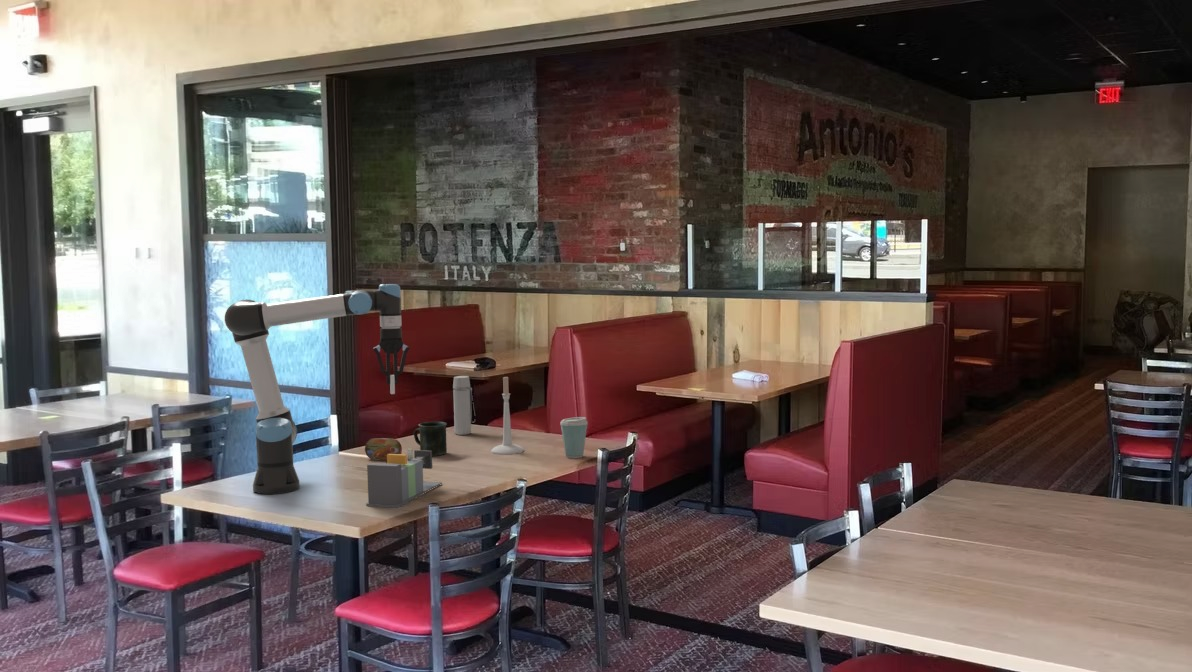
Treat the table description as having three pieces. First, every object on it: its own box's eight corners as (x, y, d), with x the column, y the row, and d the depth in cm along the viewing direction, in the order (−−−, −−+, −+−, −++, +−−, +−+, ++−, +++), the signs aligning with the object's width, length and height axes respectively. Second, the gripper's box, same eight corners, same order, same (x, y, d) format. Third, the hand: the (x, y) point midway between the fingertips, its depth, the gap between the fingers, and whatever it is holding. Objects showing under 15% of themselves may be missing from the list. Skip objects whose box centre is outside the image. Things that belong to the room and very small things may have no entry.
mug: (437, 457, 394) (436, 427, 393) (406, 454, 401) (405, 424, 400) (453, 452, 404) (452, 422, 403) (423, 449, 411) (422, 420, 410)
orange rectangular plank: (389, 462, 331) (389, 453, 330) (407, 463, 329) (407, 454, 329) (387, 463, 329) (386, 454, 329) (405, 464, 327) (404, 455, 327)
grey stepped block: (412, 483, 352) (411, 445, 351) (441, 484, 349) (440, 447, 347) (366, 505, 321) (364, 465, 320) (398, 507, 318) (396, 466, 317)
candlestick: (496, 447, 412) (494, 374, 409) (527, 448, 410) (525, 374, 407) (487, 454, 399) (485, 378, 397) (519, 454, 397) (517, 378, 395)
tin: (364, 459, 393) (364, 438, 393) (369, 458, 396) (368, 436, 396) (399, 461, 389) (398, 439, 388) (403, 459, 392) (402, 438, 391)
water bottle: (454, 435, 440) (452, 378, 438) (454, 432, 448) (453, 376, 446) (475, 435, 441) (473, 377, 439) (475, 431, 449) (474, 375, 447)
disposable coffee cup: (560, 459, 386) (559, 420, 385) (560, 454, 397) (559, 416, 395) (588, 459, 386) (587, 420, 385) (588, 453, 397) (587, 415, 396)
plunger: (416, 467, 349) (415, 443, 348) (432, 468, 347) (431, 443, 346) (392, 478, 332) (391, 452, 332) (409, 479, 331) (408, 453, 330)
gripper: (372, 328, 357) (374, 395, 359) (410, 327, 361) (411, 394, 362) (371, 327, 365) (373, 392, 367) (408, 326, 368) (410, 391, 370)
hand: (392, 393), depth 365 cm, fingers closed
